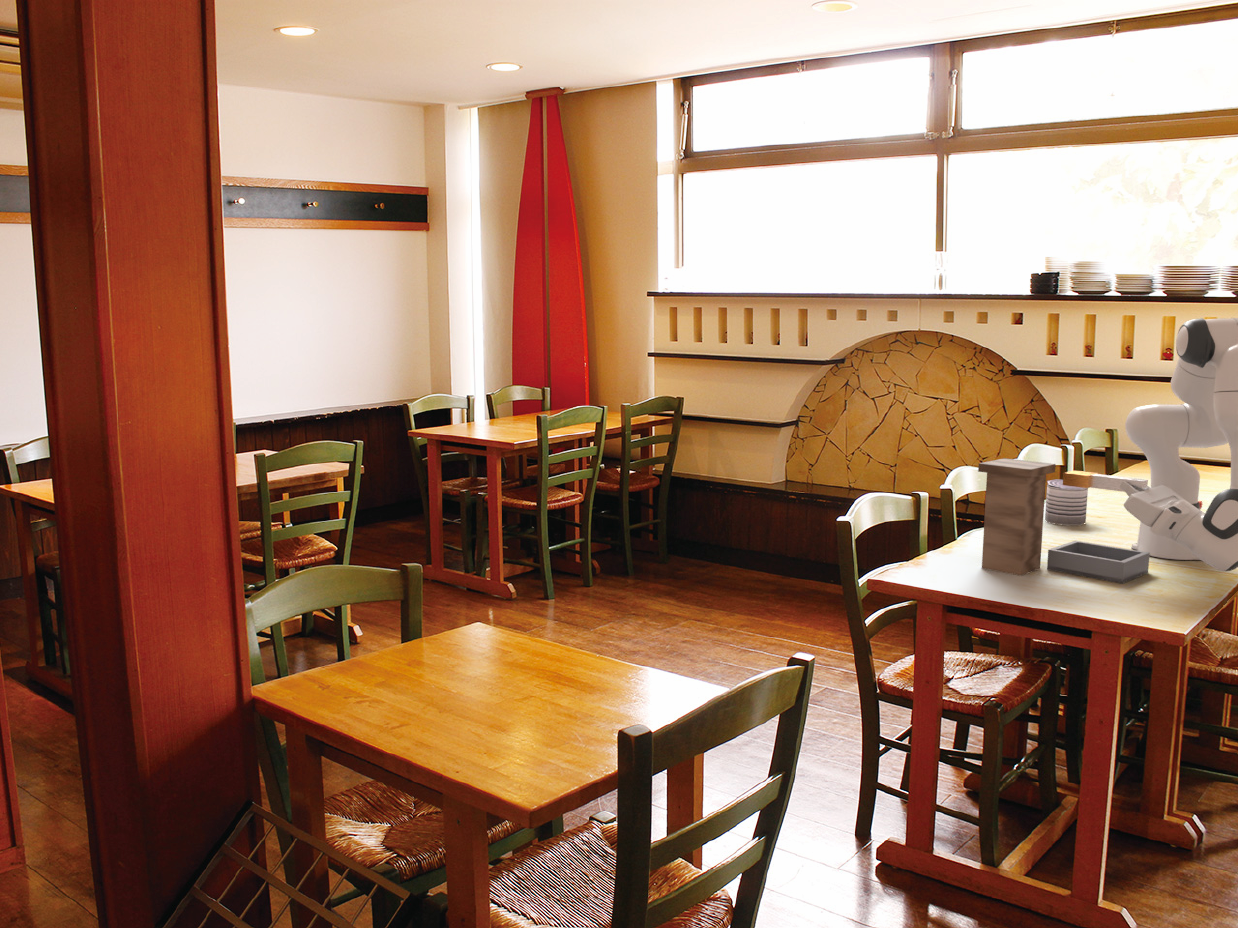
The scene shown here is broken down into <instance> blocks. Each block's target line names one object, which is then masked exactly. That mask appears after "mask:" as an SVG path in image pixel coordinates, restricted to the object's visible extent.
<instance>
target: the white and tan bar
mask: <svg viewBox="0 0 1238 928" xmlns="http://www.w3.org/2000/svg"><path fill="white" fill-rule="evenodd" d="M1062 475H1063V476H1062V480H1063V485H1066V486H1074V487H1082V488H1088V489H1089V488H1091V489H1099V490H1106V491H1107V490H1108V491H1113V492H1114V491H1115V492H1124V493H1126V492H1125V491H1124V490H1122V489H1121V488H1120V485H1121V484H1122V482H1126V481H1127V482H1128V483H1130V484H1131V485H1132V487H1133V488H1134V489H1136V490H1138V491H1140V492H1141V491H1144V490H1147V486H1148V481H1149V480H1148V479H1143V478H1136V477H1134V478H1133V477H1126V476H1117V475H1109V474H1108V475H1107V474H1100V473H1099V472H1091V471H1082V470H1070V471H1066V472H1063V473H1062Z"/></svg>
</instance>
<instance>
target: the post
mask: <svg viewBox="0 0 1238 928" xmlns="http://www.w3.org/2000/svg"><path fill="white" fill-rule="evenodd" d="M1056 466H1057V465H1056V463H1051V462H1040V461H1032V460H1024V459H1023V460H1022V459H1013V458H999V459H996V460H995V459H994V460H990V461H989V460H988V461H984V462H979V463H978V467H977V472H980V473H986V482H985V484H986V485H985V486H986V487H985V500H984V501H985V502H984V506H985V507H984V520H983V521H984V522H983V523H984V525H983V539H982V540H983V542H982V556H981V557H982V560H981V569H984V570H988V571H995V572H1000V573H1005V574H1009V575H1010V574H1011V575H1015V576H1019V577H1020V576H1021V577H1022V576H1024V575H1026V574H1029V573H1032V572H1035V571H1037V570H1040V569H1041V562H1042V559H1041V558H1042V548H1043V547H1042V546H1043V545H1042V543H1043V531H1044V530H1043V529H1044V527H1043V526H1044V516H1045V515H1044V512H1045V501H1046V485H1047V484H1046V482H1047V475H1049V474H1054V473H1056Z"/></svg>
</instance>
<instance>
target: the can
mask: <svg viewBox="0 0 1238 928" xmlns="http://www.w3.org/2000/svg"><path fill="white" fill-rule="evenodd" d="M1046 482H1047V484H1046V495H1045V510H1044V512H1045V515H1044V521H1045V520H1046V521H1047V522H1050V523H1049V524H1052V523H1055V524H1054V525H1056V524H1062V525H1061V526H1066V525H1081V524H1084V523H1087V511H1088V510H1087V507H1088V506H1087V505H1088V493H1089V488H1082V487H1074V486H1066V485H1063V479H1057V478H1056V479H1051V480H1046ZM1046 521H1045V522H1046ZM1047 522H1046V523H1047ZM1084 525H1085V524H1084ZM1081 526H1082V525H1081Z"/></svg>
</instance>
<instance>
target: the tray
mask: <svg viewBox="0 0 1238 928" xmlns="http://www.w3.org/2000/svg"><path fill="white" fill-rule="evenodd" d="M1149 565H1150V553H1149V552H1142V551H1138V550H1136V549H1130V548H1123V547H1118V546H1117V547H1116V546H1112V545H1106V544H1099V543H1092V542H1086V541H1080V540H1072V541H1070V542H1067V543H1064V544H1061V545H1058V546H1055V547H1052V548H1049V549H1048V550H1047V564H1046V570H1048V571H1051V572H1052V571H1053V572H1059V573H1064V574H1069V575H1072V576H1080V577H1083V578H1089V579H1095V580H1101V581H1107V582H1111V583H1118V584H1125V583H1127V582H1130V581H1132V580H1135V579H1137V578H1140V577H1142V576H1144V575H1146V574H1149Z"/></svg>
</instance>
